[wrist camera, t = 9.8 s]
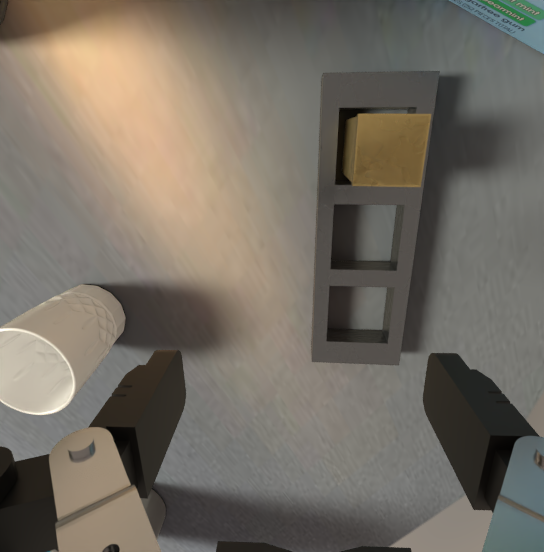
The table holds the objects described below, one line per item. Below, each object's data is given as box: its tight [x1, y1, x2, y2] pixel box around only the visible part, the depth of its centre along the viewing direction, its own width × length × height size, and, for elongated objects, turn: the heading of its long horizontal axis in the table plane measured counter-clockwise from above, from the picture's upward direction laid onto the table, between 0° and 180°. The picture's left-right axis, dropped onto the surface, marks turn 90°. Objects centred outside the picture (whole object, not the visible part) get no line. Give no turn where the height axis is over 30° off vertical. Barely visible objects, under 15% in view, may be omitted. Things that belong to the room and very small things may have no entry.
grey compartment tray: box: [311, 71, 440, 365], centre depth 31 cm, size 24×8×2 cm, turn 0°
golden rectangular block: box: [342, 114, 431, 187], centre depth 26 cm, size 4×4×8 cm
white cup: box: [0, 285, 126, 415], centre depth 33 cm, size 8×8×10 cm
